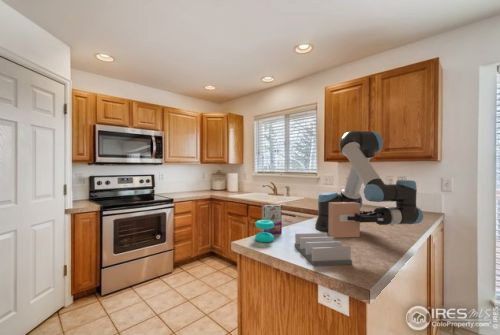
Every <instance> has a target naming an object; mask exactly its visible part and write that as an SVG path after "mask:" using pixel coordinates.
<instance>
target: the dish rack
mask: <svg viewBox="0 0 500 335" xmlns="http://www.w3.org/2000/svg"><path fill="white" fill-rule="evenodd" d="M294 235H295V236H294V241H295V242H294V247H295V248H296V249H297V250H298V251H299V252H300V253H301V255H303V256H304V257H305V258H306V260H308V261H309V263H310V264H311V265H313V267H318V266H340V265H341V266H343V265H345V266H346V265H353V260H352V259H351V258H352V256H351V254H352V253H351V249H352V247H351V246H349V245H348V246H343V242H342V241H341V240H339V241H337V240H335V238H333V237H331V236H328V232H305V233H304V232H301V233H296V232H295V234H294Z"/></svg>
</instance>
